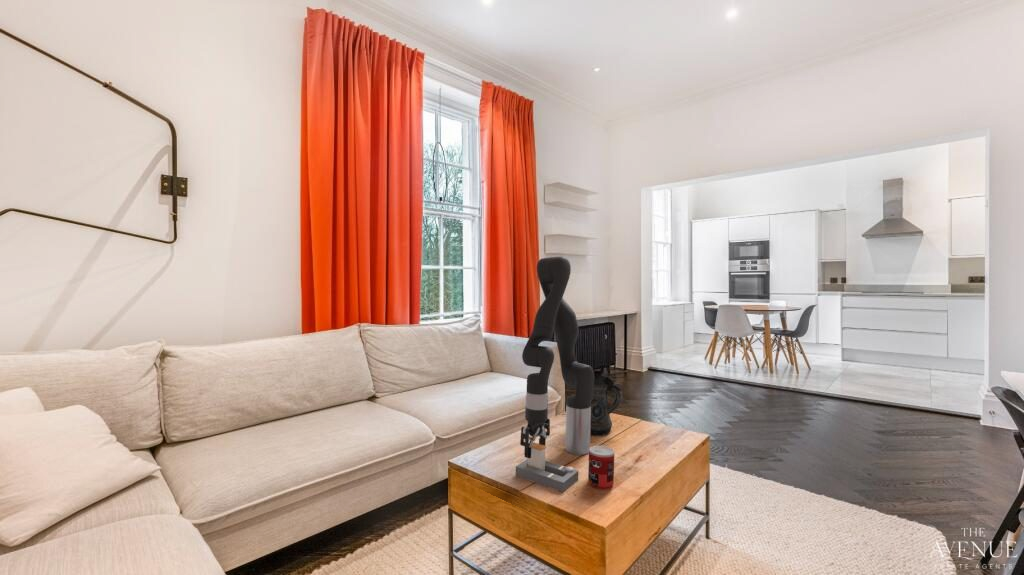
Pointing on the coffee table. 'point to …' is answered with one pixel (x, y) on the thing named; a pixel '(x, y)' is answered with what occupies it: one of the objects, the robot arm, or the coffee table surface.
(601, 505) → the coffee table surface
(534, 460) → the fader tab
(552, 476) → the console
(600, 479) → the canned food
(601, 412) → the beer stein
